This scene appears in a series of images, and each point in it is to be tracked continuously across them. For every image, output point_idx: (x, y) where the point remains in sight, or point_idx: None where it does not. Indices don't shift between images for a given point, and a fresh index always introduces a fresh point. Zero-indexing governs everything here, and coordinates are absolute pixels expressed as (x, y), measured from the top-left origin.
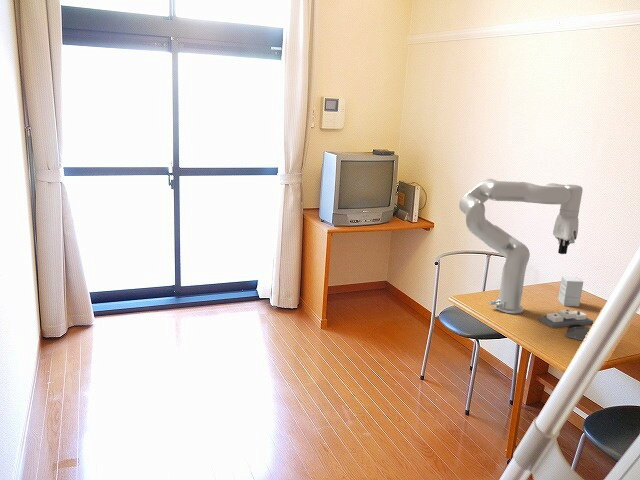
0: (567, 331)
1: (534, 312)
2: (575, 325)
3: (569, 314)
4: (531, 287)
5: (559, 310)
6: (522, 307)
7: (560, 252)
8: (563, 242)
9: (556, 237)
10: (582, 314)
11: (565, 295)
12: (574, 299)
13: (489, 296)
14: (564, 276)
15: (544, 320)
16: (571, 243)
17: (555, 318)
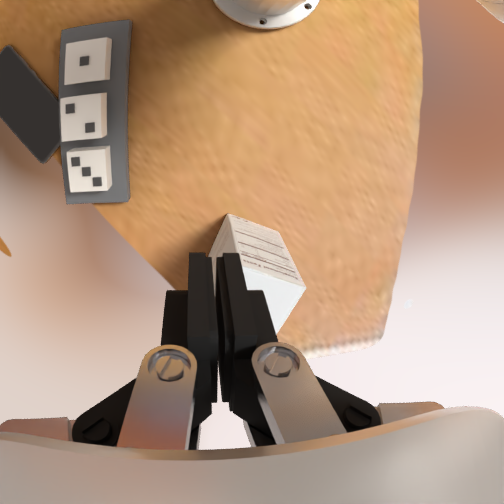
0: (24, 64)
1: (200, 50)
2: (57, 124)
3: (60, 110)
4: (395, 225)
5: (100, 93)
6: (237, 17)
7: (193, 259)
8: (171, 398)
9: (415, 413)
10: (74, 178)
11: (231, 232)
12: (214, 256)
13: (385, 10)
14: (294, 292)
15: (101, 23)
16: (11, 419)
17: (66, 47)
